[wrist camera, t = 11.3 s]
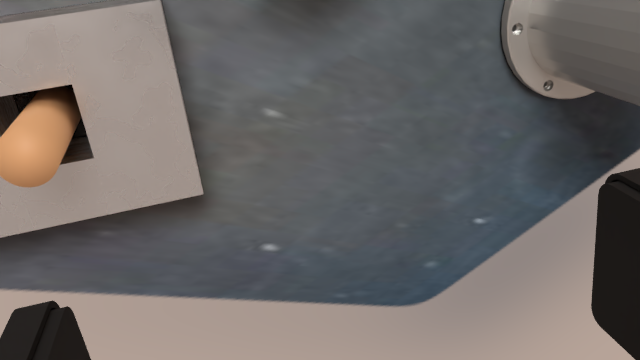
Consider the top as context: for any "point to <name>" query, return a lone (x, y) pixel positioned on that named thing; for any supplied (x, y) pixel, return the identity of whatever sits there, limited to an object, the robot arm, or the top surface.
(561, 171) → the top surface
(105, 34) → the hole block
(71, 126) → the peg
